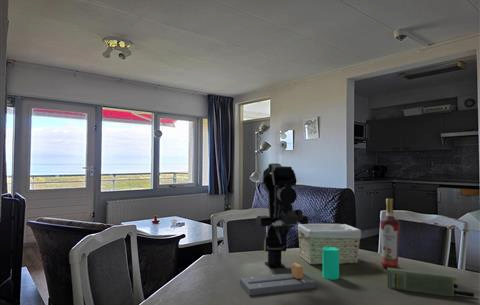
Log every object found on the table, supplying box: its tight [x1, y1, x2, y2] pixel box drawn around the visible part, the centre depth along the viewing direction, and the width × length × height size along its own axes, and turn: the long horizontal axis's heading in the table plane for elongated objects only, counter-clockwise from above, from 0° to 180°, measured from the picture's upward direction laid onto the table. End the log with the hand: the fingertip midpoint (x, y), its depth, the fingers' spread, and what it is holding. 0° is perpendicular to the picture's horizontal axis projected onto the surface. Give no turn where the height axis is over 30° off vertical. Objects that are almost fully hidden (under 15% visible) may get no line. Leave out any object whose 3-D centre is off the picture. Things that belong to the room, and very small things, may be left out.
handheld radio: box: [386, 268, 475, 298], centre depth 106 cm, size 7×3×25 cm
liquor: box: [379, 198, 401, 269], centre depth 131 cm, size 7×7×28 cm
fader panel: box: [239, 272, 317, 296], centre depth 109 cm, size 10×24×2 cm, turn 107°
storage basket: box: [297, 223, 362, 265], centre depth 141 cm, size 24×16×15 cm
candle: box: [321, 247, 340, 280], centre depth 119 cm, size 6×6×12 cm
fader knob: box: [291, 262, 304, 279], centre depth 112 cm, size 4×2×4 cm, turn 17°
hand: (282, 243), depth 116 cm, fingers closed
